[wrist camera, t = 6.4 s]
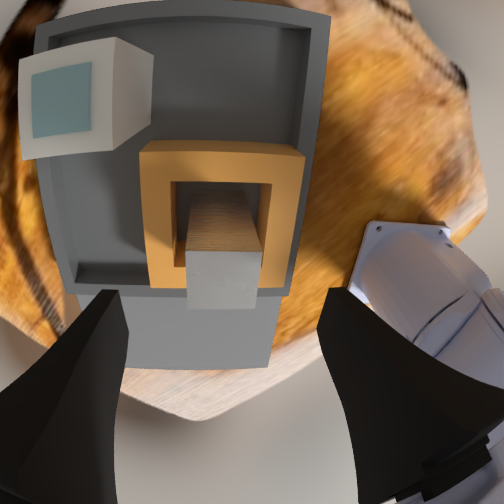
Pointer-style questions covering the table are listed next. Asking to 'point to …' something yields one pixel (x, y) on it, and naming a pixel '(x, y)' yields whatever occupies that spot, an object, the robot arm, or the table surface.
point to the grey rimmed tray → (191, 142)
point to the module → (83, 97)
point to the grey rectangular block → (221, 251)
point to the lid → (196, 334)
